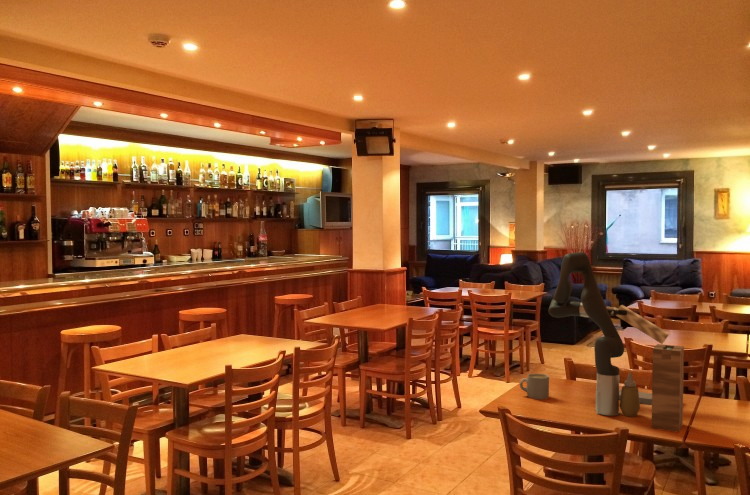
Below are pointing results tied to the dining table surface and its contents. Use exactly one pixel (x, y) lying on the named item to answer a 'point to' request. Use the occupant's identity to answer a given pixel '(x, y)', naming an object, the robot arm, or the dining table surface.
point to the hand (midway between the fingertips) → (627, 312)
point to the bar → (643, 325)
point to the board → (642, 397)
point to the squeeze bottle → (629, 398)
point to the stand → (667, 387)
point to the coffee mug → (536, 386)
